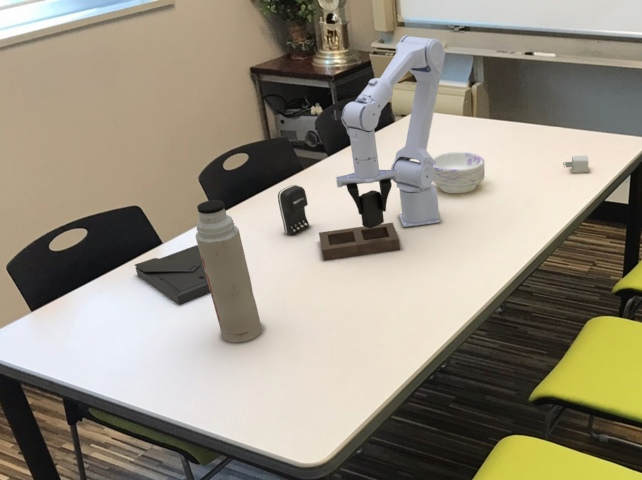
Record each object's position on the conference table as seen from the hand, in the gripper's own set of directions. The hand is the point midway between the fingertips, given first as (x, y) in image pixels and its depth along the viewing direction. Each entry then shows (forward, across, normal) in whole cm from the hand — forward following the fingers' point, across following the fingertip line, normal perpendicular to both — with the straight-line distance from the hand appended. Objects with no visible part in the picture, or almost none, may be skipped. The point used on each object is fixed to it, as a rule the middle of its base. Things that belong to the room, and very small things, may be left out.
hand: (372, 211), depth 191 cm
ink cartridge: (+4, 0, 0) cm, 4 cm away
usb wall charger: (+9, +62, +30) cm, 69 cm away
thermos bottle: (+9, -32, -33) cm, 47 cm away
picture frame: (+9, -44, -4) cm, 45 cm away
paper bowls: (+9, +27, +29) cm, 41 cm away
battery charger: (+9, -18, +14) cm, 24 cm away
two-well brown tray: (+8, -4, 0) cm, 9 cm away
